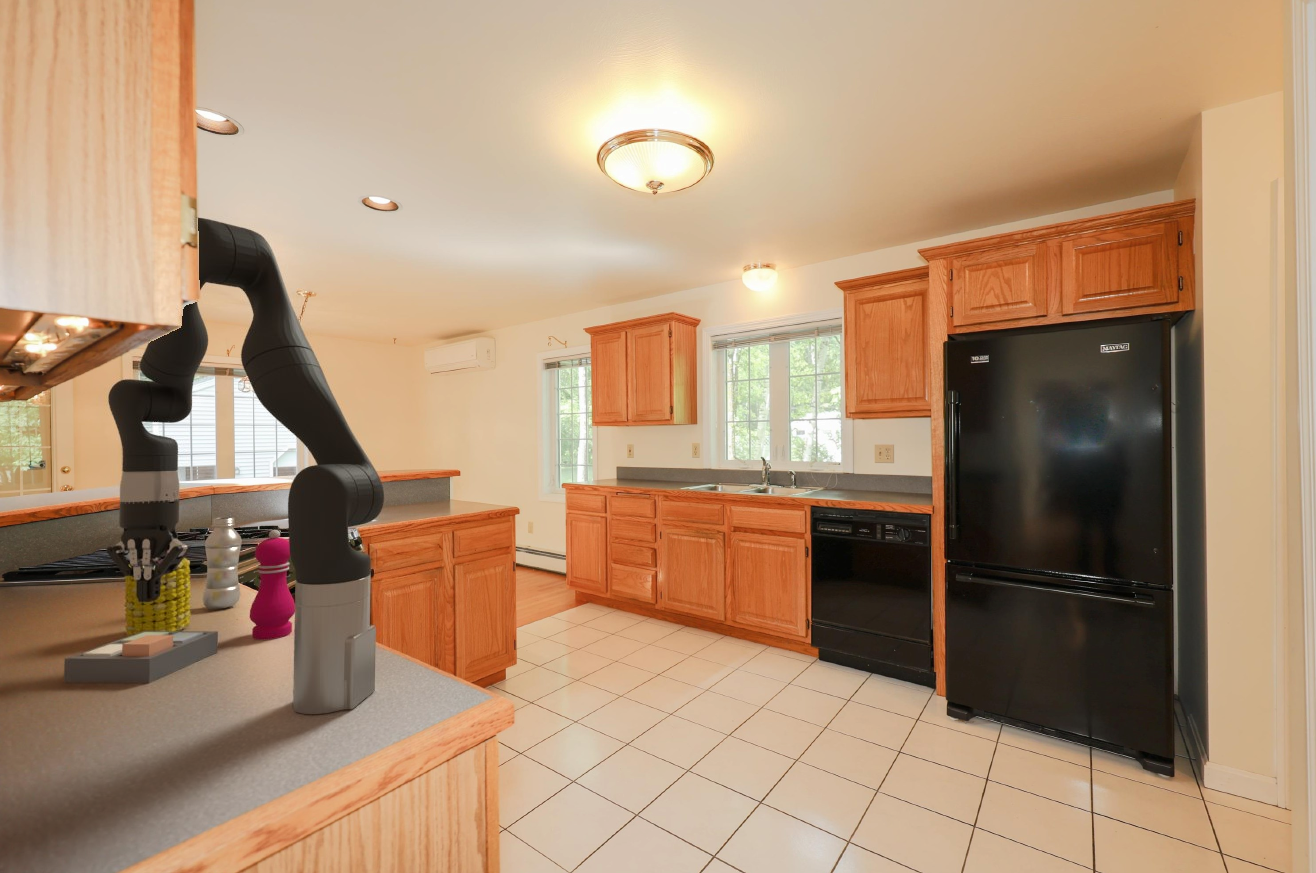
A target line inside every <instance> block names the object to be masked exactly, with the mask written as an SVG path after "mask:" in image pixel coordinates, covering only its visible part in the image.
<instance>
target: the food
mask: <svg viewBox="0 0 1316 873" xmlns="http://www.w3.org/2000/svg"><path fill="white" fill-rule="evenodd" d="M190 564H191V561H190V560H189V559H188V558H186V557H184V559H183V560H182V561H181V562H180V564H179V565H178V566H177V567H176V569H175V570H174V571H173V572H172V573H169V574H166V575H163V576H162V577H161V587H160V588H161V591H160V596H159V597H158V599H157V600H154V601H151V602H139V601H138V599H137V596H136V590H137V589H136V584H137V581H136V580H135V579H134V577H132V576H125V575H124V578H125V582H124V584H125V589H124V591H125V596H124V600H125V602H124V605H123V606H124V607H125V610H124V611H125V622H126V625H125V626H124V627H125V629H126V633H125V634H126V635H127V637H128V636H131V635H134V634H137V633H140V632H143V631H182V630H183V629H185V628H187V627H189V626H190V622H191V616H192V614H191V612H192V611H191V610H190V609H191V605H190V603H191V600H192V599H191V598H190V597H191V596H192V593H191V589H192V587H191V584H192V583H191V581H190V580H191V575H190V574H191V570H190V569H191V568H190ZM128 565H129V564H128ZM129 566H130V565H129ZM130 567H131V566H130ZM143 568H144V566H143ZM154 570H155V566H154Z"/></svg>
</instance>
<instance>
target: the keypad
mask: <svg viewBox="0 0 1316 873" xmlns="http://www.w3.org/2000/svg"><path fill="white" fill-rule="evenodd" d="M144 632H169V635H174V634H176V633H179V632H199V633H203V635H202V636H199V637H197V638H194V639H192V640H189V641H187V642H184V643H173V647H172V648H169V649H167V650H164V651H162V652H159V653H157V654H154V655H152V656H122V652H121V653H118V654H115V655H113V656H83V653H86V652H89V651H92V650H95V649H98V648H101V647H103V646H106V645H109V644H124V643H121V640H123V639H126V638H129V637H132V636H135V635H138V634H141V633H144ZM218 637H219V631H217V630H216V631H215V630H214V631H212V630H208V631H205V630H200V631H198V630H197V631H196V630H195V631H193V630H191V631H190V630H188V631H187V630H185V631H183V630H180V631H143V632H140V633H137V634H134V635H131V636H128V635H127V636H126V637H122V638H120V639H117V640H114V641H111V642H108V643H105V644H102V645H100V646H96V647H93V648H91V649H88V650H86V651H83V652H79V653H76V654H74V655H70V656H67V657H65V658H64V663H63V664H64V665H63V666H64V668H63V669H64V670H63V683H74V684H75V683H77V684H78V683H82V684H83V683H85V684H87V683H89V684H90V683H91V684H94V683H97V684H98V683H102V684H106V683H107V684H108V683H109V684H112V683H113V684H150V683H152V682H155V681H157V680H159V679H161V678H164V677H166V676H168V675H170V674H172V673H174V672H176V671H179V670H181V669H184V668H185V667H188V666H191V665H192V664H195V663H197V662H199V661H201V660H203V659H206V658H208V657H210V656H212V655H214V654H216V653H218V650H219V649H218V647H219V646H218V644H219V642H218V640H219V638H218Z"/></svg>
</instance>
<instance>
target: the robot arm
mask: <svg viewBox="0 0 1316 873" xmlns="http://www.w3.org/2000/svg"><path fill="white" fill-rule="evenodd" d="M197 218H198V231H199V280H200V291H201V290H202V288H203V287H204V285H205V284H206V283H207V284H212V285H213V284H214V285H220V286H227V287H233V288H238V289H241V290H242V291H243V292H244V294H245V295H246V298H247V300H248V301H249V303H250V304H249V305H250V307H251V310H252V314H253V317H252V321H251V324H250V325H249V328H248V331H247V333H246V336H245V338H244V341H243V342H242V343H243V344H242V346H241V350H240V351H241V352H240V359H241V360H240V361H241V363H242V368H243V369H244V370H243V371H244V373H245V374H246V376H247V378H248V381H249V382H250V385H251V387H252V389H253V392H254V394H255V396H256V398H257V399H258V401H259V402H260V404H261V405H262V406H263V408H265V409H266V411H268V413H269V414H270V415H271V416H273V417H274V418H275V419H276V420H277V421H278V422H279V423H280V424H281V425H283V426H284V427H285V428H286V429H287V430H288V431H290V432H291V433H292V434H293V435H294V436H295V437H296V438H298V440H299V441H301V443H302V444H303V445H304V446H305V447H306V448H307V450H308V451H309V452H310V454H311V456H312V457H313V458H314V461H315V463H316V464H315V465H309V466H307V467H305V468H303V469H301V471H299V472H298V473H297V474H296V476H294V479H293V480H292V482H291V484H290V489H289V493H288V498H287V518H288V519H287V522H288V541H289V550H290V559H291V560H290V561H291V562H292V565H293V567H294V571H295V587H294V588H295V589H294V590H295V591H294V592H295V593H294V596H295V597H294V603H295V613H294V635H293V636H294V638H293V639H294V642H293V643H294V645H293V687H292V688H293V690H292V696H293V697H292V709H293V710H294V711H295V712H297V713H300V714H305V715H320V714H328V713H333V712H339V711H343V710H352V709H354V708H355V707H357V706H358V705H360V703H362V702H363V701H364V700H365V699H367V698H368V697H369V696H370V695H371V694H372V693H374V692H375V690H376V651H377V650H376V648H377V646H376V643H377V642H376V639H377V632H376V631H377V627H376V626H375V625H373V624H370V623H371V619H370V618H371V616H370V615H371V571H372V569H371V568H372V562H371V561H372V560H371V557H370V555H369V554H368V553H366V552H363V551H360V550H356V549H354V548H353V547H352V546H351V543H350V538H349V528H350V527H355V526H361V525H365V524H368V523H371V522H372V521H375V519H377V518H378V517H379V515H380V513H381V512H382V510H383V507H384V503H385V494H384V492H385V491H384V487H383V483H382V479H381V478H380V476H379V474H378V472H377V470H376V469H375V466H374V465H373V464H372V462H371V460H370V459H369V457H368V456H367V454H366V453H365V450H364V449H363V447H362V446H361V444H360V443H359V441H358V440H357V438H356V436H355V434H354V433H353V431H352V429H351V428H350V426H349V424H348V422H347V420H346V418H345V416H344V414H343V412H342V409H341V408H340V406H339V404H338V402H337V399H336V397H335V396H334V394H333V391H332V389H331V388H330V385H329V383H328V381H327V378H326V376H325V373H324V370H323V369H322V367H321V365H320V362H319V360H318V358H317V356H316V354H315V352H314V350H313V348H312V346H311V345H310V342H309V341H308V339H307V337H306V334H305V333H304V330H303V328H302V326H301V324H300V321H299V319H298V316H297V315H296V312H295V310H294V308H293V305H292V303H291V300H290V297H289V295H288V291H287V288H286V286H285V282H284V279H283V275H282V273H281V270H280V267H279V265H278V262H277V259H276V256H275V253H274V251H273V249H272V247H271V245H270V243H269V242H268V240H266V238H265V237H264V236H263V235H262V234H260V233H259V232H257V231H254V230H252V229H250V228H246V227H241V226H237V225H234V224H230V223H226V222H222V221H221V222H220V221H217V220H213V219H208V218H203V217H197ZM207 330H208V329H207V328H206V325H205V322H204V320H203V318H202V314H201V312H200V309H199V305H198V301H197V302H195V303H193V304H189V305H186V306H185V307H184V309H183V316H182V326H181V328H179V329H177V330H175V331H172V332H170V333H169V334H167V335H164V336H162V337H160V338H158V339H156V340H154V341H151V342H150V343H149V342H148V343H147V346H146V348H145V349H144V352H143V355H142V357H141V358H140V361H139V368H140V372H141V373H142V375H143V376H144V377H146V378H147V379H149V380H143V379H132V378H130V379H128V378H127V379H126V378H125V379H121V380H119V381H117V382H115V383H114V384H113V386H112V387H111V388H110V390H109V393H108V405H109V409H110V412H111V416H112V417H113V420H114V422H115V425H116V428H117V430H118V434H119V438H120V443H121V446H122V448H121V450H122V469H121V470H122V474H121V480H120V483H119V484H120V485H119V512H118V513H119V514H118V516H119V520H118V521H119V522H118V523H119V524H118V526H119V527H120V528H121V529H123V531H122V534H121V535H120V541H119V542H117V543H116V544H115V545H110V546H108V547H106V549H105V550H106V553H107V554H108V556H109V557H110V558H111V560H112V561H113V562H114V563H115V565H116V566H117V568H118V569H119V570H120V571H121V573H122V574H123V575H124V577H125V576H132V577H134V579H135V580H136V581H137V584H136V589H137V590H136V596H137V599H138V601H139V602H151V601H154V600H157V599H158V597H159V596H160V591H161V588H160V587H161V577H162V576H163V575H166V574H169V573H172V572H173V571H174V570H175V569H176V567H177V566H178V565H179V564H180V562H181V561H182V560H183V559H184V558H186V556H187V555H188V554H189V552H190V551H191V549H192V545H191V544H190V543H186V544H184V543H183V542H182V541H180V540H179V539H178V538H179V534H178V532H177V530H176V526H177V524H178V523H179V522H180V478H179V472H178V470H179V445H178V441H177V440H175V439H174V438H172V437H168V436H163V435H157V434H154V433H153V434H152V433H150V432H149V431H148V430H147V429H146V428H145V426H144V424H143V423H162V424H163V423H164V424H166V423H167V424H169V423H170V424H174V423H179V422H181V421H184V419H186V418H188V416H190V413H191V412H192V408H193V387H194V380H195V375H196V373H197V371H198V370H199V367H200V366H201V363H202V361H203V360H204V357H205V355H206V353H207V350H208V346H209V335H208V331H207ZM129 565H130V566H131V567H130V566H129ZM143 566H144V568H143ZM154 566H155V570H154Z"/></svg>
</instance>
